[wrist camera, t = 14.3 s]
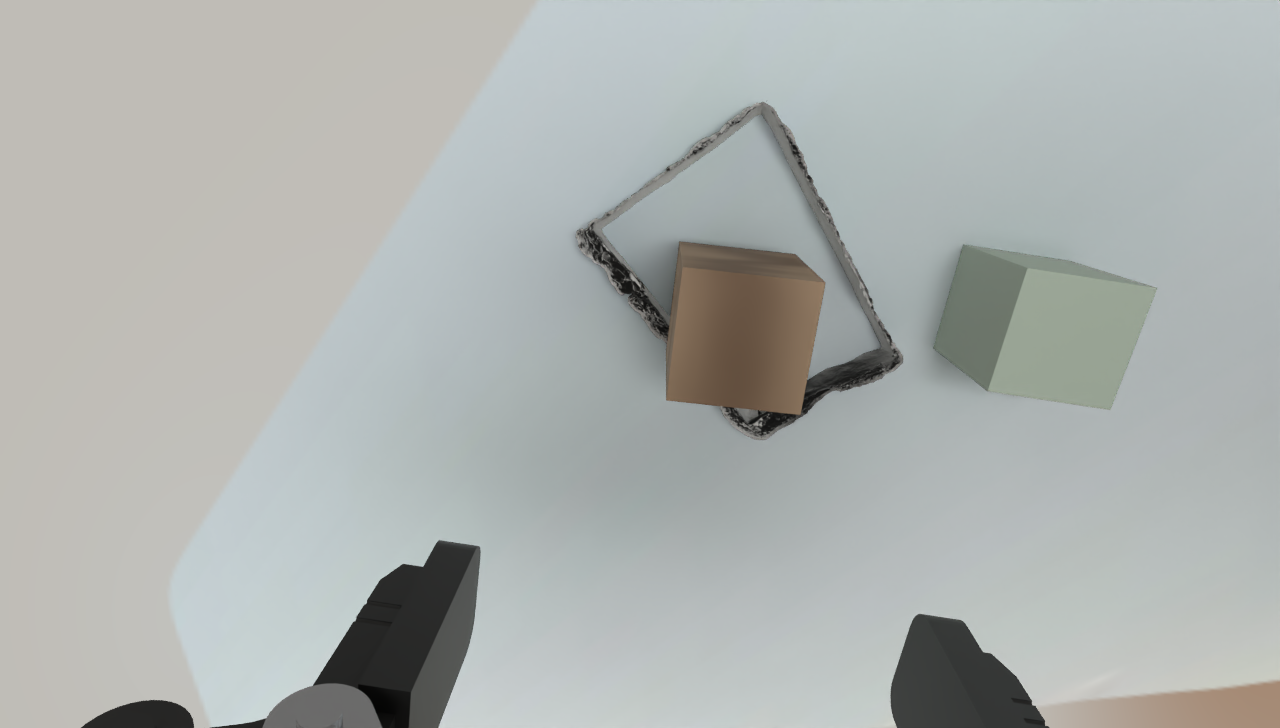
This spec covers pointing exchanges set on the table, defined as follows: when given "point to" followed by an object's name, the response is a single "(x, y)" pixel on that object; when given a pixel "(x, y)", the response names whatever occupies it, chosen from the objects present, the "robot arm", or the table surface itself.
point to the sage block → (1041, 326)
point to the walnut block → (741, 328)
